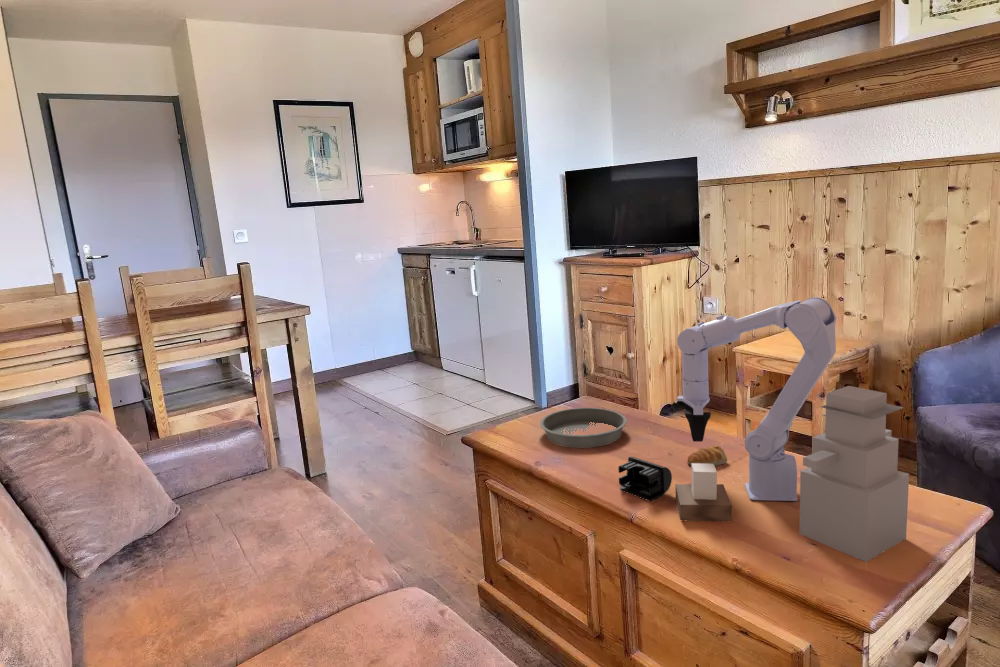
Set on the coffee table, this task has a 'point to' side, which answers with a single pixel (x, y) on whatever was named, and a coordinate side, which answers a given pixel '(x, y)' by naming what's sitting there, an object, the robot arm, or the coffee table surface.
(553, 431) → the cake pan
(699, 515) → the walnut base
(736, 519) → the coffee table surface
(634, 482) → the end cap
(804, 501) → the three tier block tower
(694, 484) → the white block
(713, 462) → the pastry
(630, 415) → the coffee table surface
